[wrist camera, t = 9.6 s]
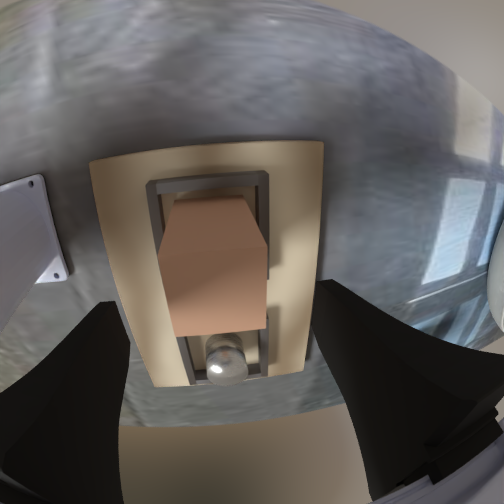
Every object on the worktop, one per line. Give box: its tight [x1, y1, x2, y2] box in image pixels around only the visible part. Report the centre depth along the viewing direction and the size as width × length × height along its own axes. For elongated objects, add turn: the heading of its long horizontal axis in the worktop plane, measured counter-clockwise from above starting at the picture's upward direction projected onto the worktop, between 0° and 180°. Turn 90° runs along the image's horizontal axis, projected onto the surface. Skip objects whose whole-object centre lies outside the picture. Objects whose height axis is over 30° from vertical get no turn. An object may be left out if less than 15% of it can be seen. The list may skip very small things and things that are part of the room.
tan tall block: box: [158, 195, 267, 337], centre depth 14 cm, size 4×4×7 cm
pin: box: [205, 333, 248, 386], centre depth 20 cm, size 3×3×3 cm
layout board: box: [89, 140, 324, 387], centre depth 19 cm, size 14×20×2 cm
